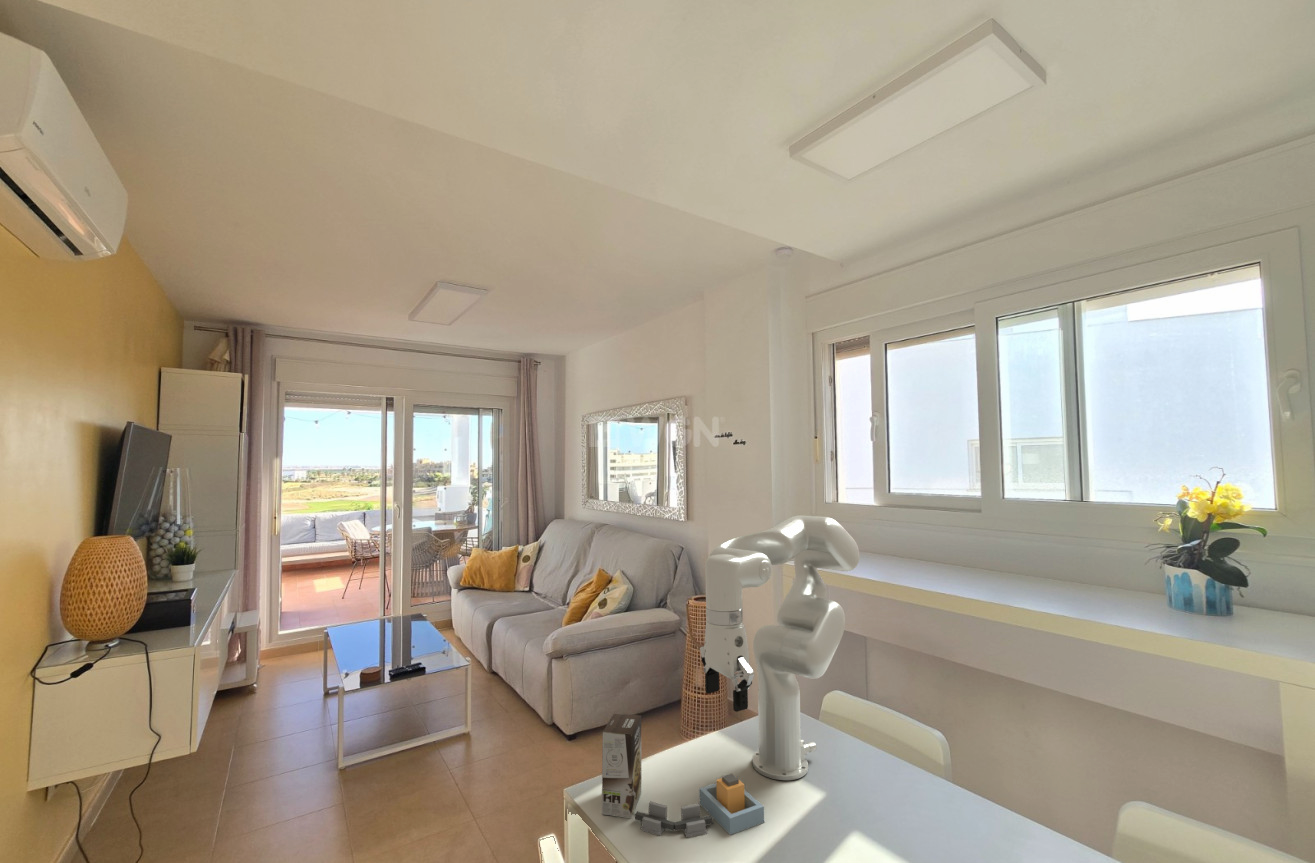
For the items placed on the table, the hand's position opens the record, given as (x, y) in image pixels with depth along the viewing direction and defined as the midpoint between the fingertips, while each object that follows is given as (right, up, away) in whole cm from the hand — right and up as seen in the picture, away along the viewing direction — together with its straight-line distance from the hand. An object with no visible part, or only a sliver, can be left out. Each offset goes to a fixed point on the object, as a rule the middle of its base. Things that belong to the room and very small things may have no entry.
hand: (726, 700), depth 114 cm
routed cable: (-11, -20, -6) cm, 24 cm away
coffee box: (-21, -22, 0) cm, 30 cm away
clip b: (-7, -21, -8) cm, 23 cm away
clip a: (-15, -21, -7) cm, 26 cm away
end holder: (+1, -21, -3) cm, 21 cm away
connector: (+1, -21, -3) cm, 21 cm away
